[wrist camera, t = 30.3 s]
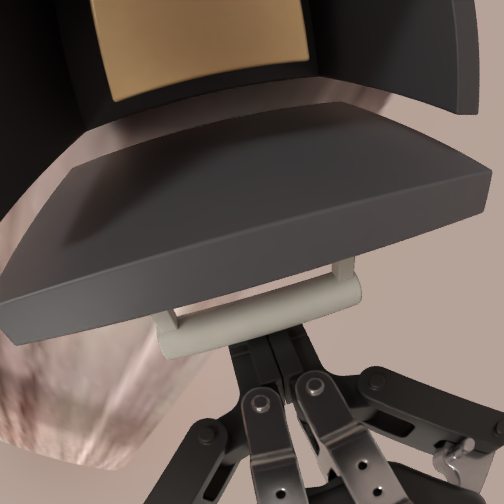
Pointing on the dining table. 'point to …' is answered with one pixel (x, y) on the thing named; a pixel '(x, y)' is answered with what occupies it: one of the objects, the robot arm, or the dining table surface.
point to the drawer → (227, 176)
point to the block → (193, 39)
